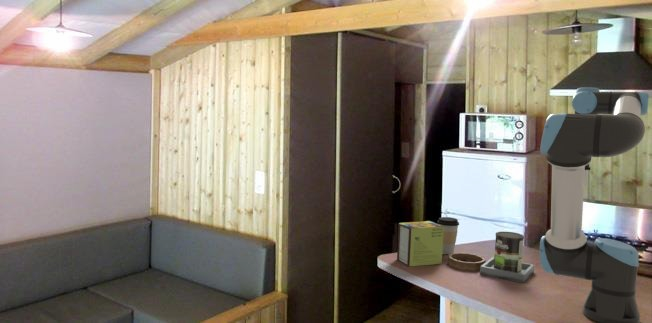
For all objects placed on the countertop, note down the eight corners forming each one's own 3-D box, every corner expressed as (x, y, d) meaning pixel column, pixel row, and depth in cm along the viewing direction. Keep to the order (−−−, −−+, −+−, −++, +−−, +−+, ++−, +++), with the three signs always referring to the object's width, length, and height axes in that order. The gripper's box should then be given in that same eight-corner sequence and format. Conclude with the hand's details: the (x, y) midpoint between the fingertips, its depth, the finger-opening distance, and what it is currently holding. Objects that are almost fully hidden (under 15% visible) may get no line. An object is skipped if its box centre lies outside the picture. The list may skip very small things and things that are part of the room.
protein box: (442, 263, 204) (444, 226, 203) (409, 267, 199) (411, 228, 197) (428, 256, 214) (429, 220, 212) (396, 259, 208) (397, 222, 207)
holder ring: (478, 272, 194) (478, 265, 193) (443, 265, 202) (443, 258, 201) (489, 264, 205) (489, 257, 205) (455, 257, 213) (456, 250, 213)
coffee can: (507, 276, 188) (509, 239, 186) (487, 267, 197) (489, 232, 195) (527, 273, 192) (530, 236, 190) (507, 265, 201) (509, 230, 200)
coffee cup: (458, 256, 215) (460, 222, 213) (435, 254, 217) (437, 220, 215) (456, 250, 224) (458, 217, 223) (435, 249, 226) (437, 216, 225)
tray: (523, 283, 183) (524, 275, 183) (480, 274, 192) (480, 266, 192) (533, 272, 197) (534, 264, 196) (492, 264, 205) (492, 257, 205)
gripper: (578, 130, 194) (573, 184, 196) (567, 130, 174) (562, 191, 176) (600, 131, 190) (595, 186, 192) (591, 131, 170) (586, 194, 171)
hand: (579, 189), depth 184 cm, fingers open, 13 cm apart
